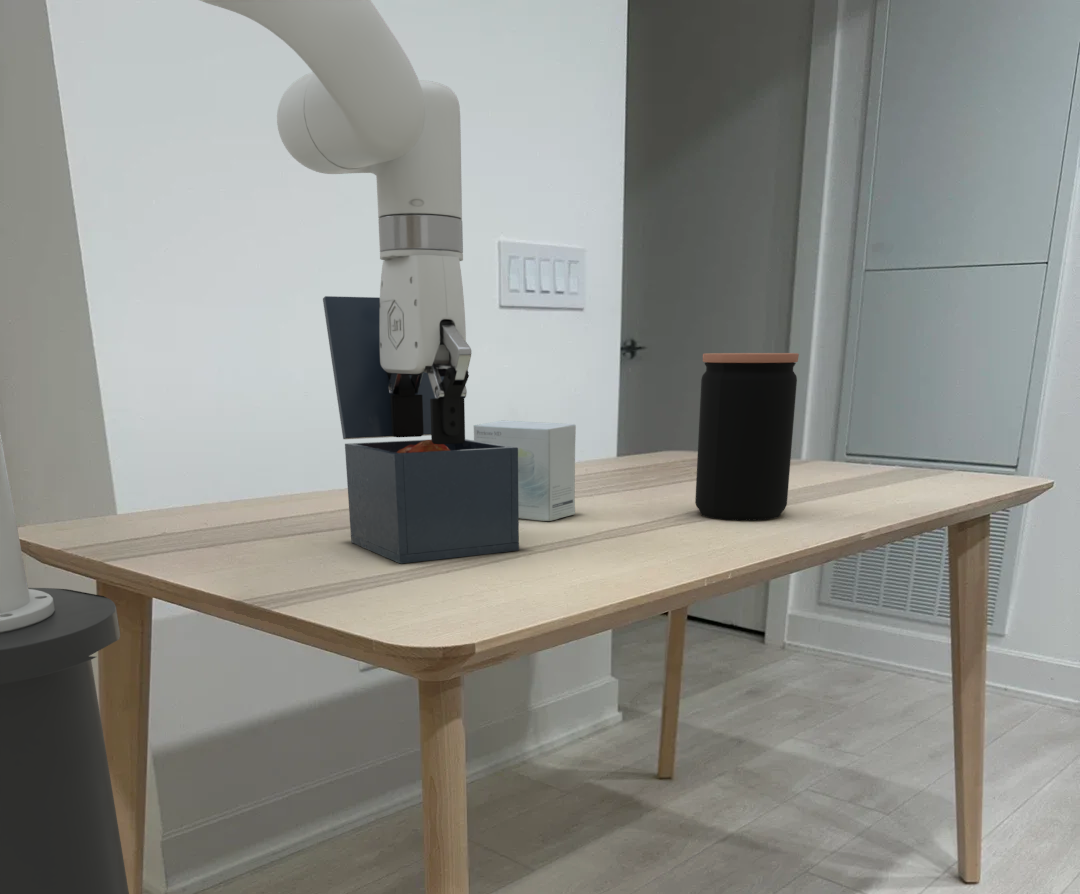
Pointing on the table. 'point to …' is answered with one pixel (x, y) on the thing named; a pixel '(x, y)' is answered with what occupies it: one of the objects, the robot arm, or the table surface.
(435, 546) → the tea tin
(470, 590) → the table surface
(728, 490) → the coffee jar
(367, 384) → the tin lid
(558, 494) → the cosmetics box
